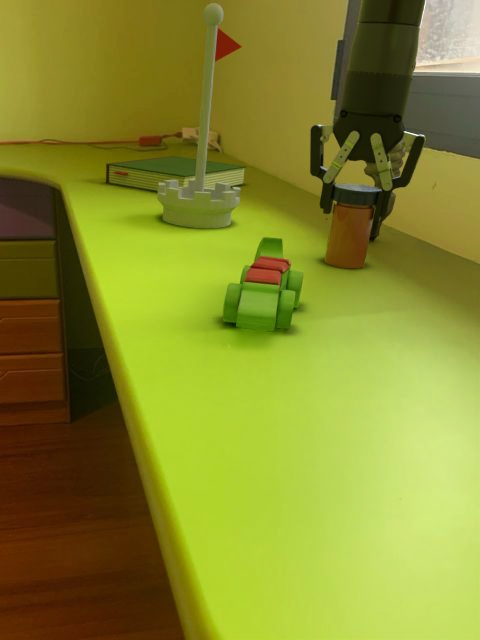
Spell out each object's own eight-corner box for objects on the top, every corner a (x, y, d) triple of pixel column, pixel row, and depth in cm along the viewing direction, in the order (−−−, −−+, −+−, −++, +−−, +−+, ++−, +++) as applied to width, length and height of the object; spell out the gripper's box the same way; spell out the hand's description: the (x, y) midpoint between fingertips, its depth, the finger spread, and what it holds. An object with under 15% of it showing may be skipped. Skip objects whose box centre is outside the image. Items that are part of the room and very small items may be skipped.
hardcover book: (172, 173, 158) (173, 155, 156) (244, 184, 148) (246, 166, 147) (103, 183, 139) (103, 163, 137) (181, 197, 130) (182, 176, 128)
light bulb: (391, 246, 103) (414, 137, 96) (355, 244, 102) (375, 135, 95) (381, 237, 107) (402, 133, 100) (346, 235, 107) (365, 131, 100)
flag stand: (177, 230, 103) (193, -4, 89) (143, 213, 114) (153, 0, 100) (252, 228, 108) (278, 5, 94) (213, 211, 119) (231, 8, 105)
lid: (327, 201, 86) (329, 187, 86) (335, 195, 91) (338, 181, 90) (374, 207, 84) (377, 193, 84) (381, 200, 89) (384, 187, 88)
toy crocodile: (283, 352, 61) (293, 285, 58) (210, 341, 63) (216, 275, 60) (303, 293, 78) (312, 238, 75) (245, 285, 80) (252, 231, 77)
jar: (358, 259, 94) (371, 191, 90) (368, 269, 89) (383, 198, 85) (320, 257, 94) (331, 189, 90) (329, 267, 89) (341, 196, 85)
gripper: (312, 64, 80) (290, 213, 88) (442, 74, 75) (406, 230, 83) (325, 66, 86) (303, 205, 94) (446, 74, 82) (412, 220, 89)
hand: (351, 216), depth 89 cm, fingers closed on lid, 5 cm apart
